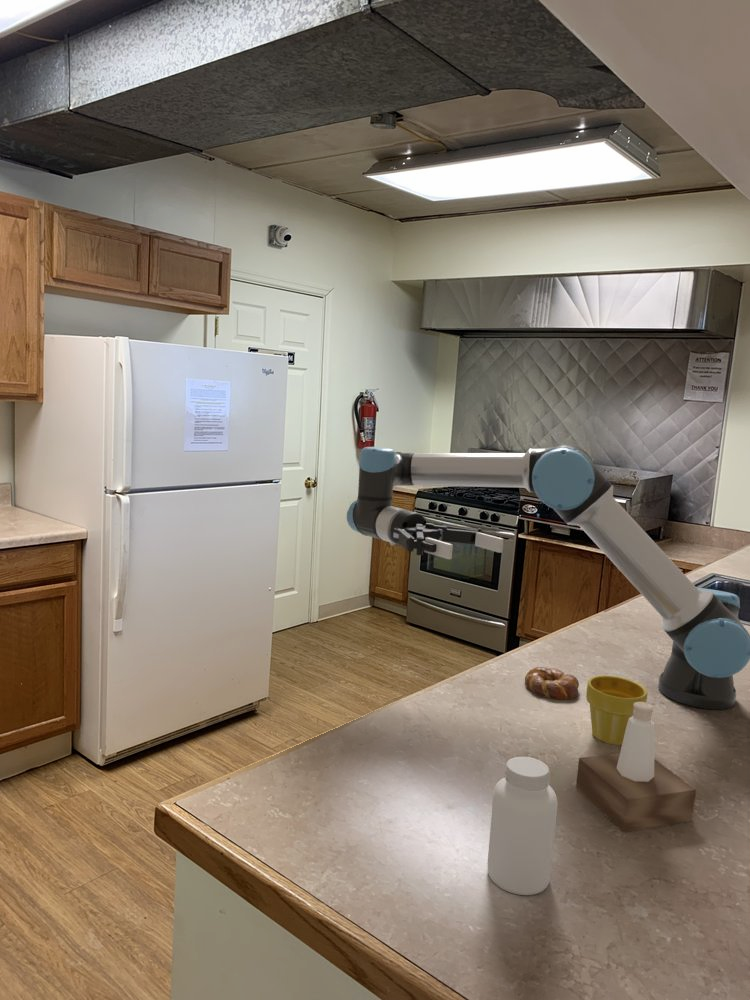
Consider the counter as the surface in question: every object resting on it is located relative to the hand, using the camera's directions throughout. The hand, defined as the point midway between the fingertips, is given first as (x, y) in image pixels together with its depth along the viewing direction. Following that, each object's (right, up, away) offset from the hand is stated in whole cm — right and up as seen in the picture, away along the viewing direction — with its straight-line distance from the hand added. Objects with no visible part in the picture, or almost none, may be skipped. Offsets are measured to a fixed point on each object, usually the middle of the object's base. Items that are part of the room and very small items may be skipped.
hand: (477, 548), depth 136 cm
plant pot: (+24, -34, -2) cm, 42 cm away
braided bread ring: (+18, -31, +19) cm, 41 cm away
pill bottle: (-1, -39, -43) cm, 58 cm away
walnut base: (+20, -37, -24) cm, 49 cm away
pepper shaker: (+20, -33, -25) cm, 46 cm away
